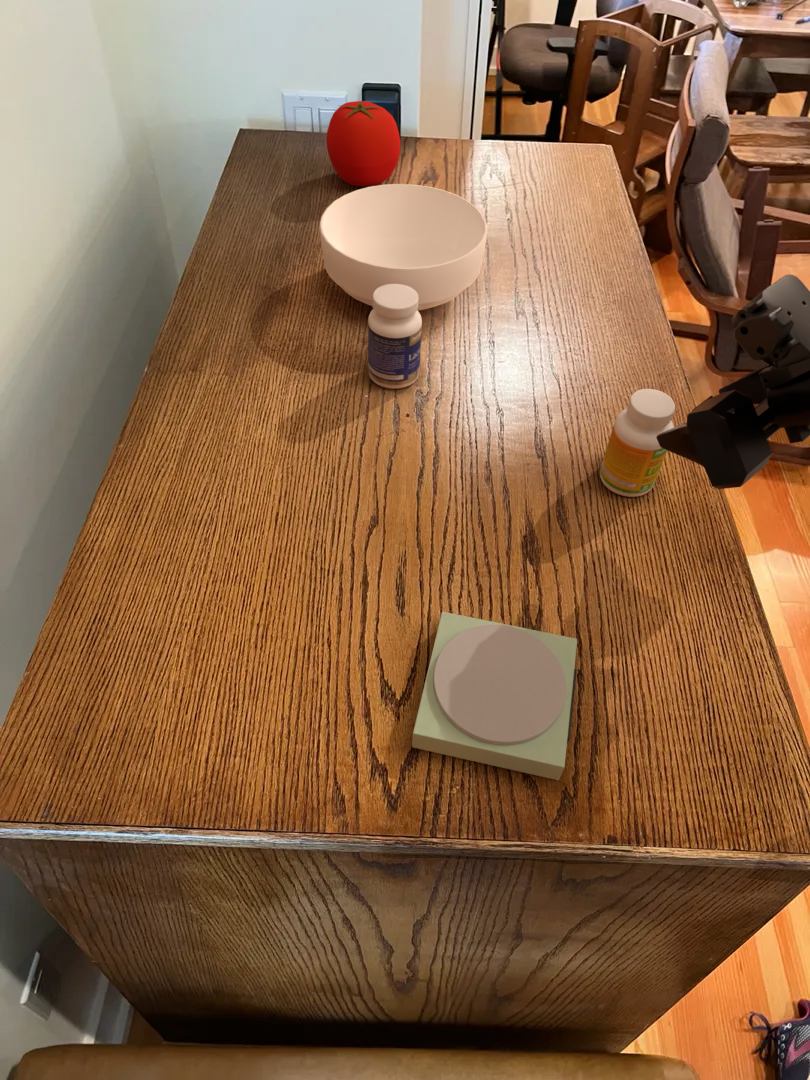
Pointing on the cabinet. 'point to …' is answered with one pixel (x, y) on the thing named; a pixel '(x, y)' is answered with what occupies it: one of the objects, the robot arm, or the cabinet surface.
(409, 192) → the bowl
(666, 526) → the cabinet surface
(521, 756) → the scale
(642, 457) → the supplement bottle
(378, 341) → the pill bottle
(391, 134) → the tomato
